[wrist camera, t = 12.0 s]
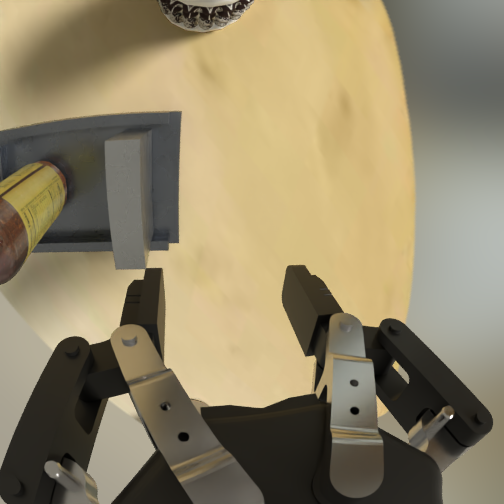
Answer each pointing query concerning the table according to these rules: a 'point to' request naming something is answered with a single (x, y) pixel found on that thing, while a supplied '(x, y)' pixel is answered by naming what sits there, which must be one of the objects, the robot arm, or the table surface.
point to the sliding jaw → (130, 196)
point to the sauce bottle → (27, 212)
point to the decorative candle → (203, 13)
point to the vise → (97, 174)
